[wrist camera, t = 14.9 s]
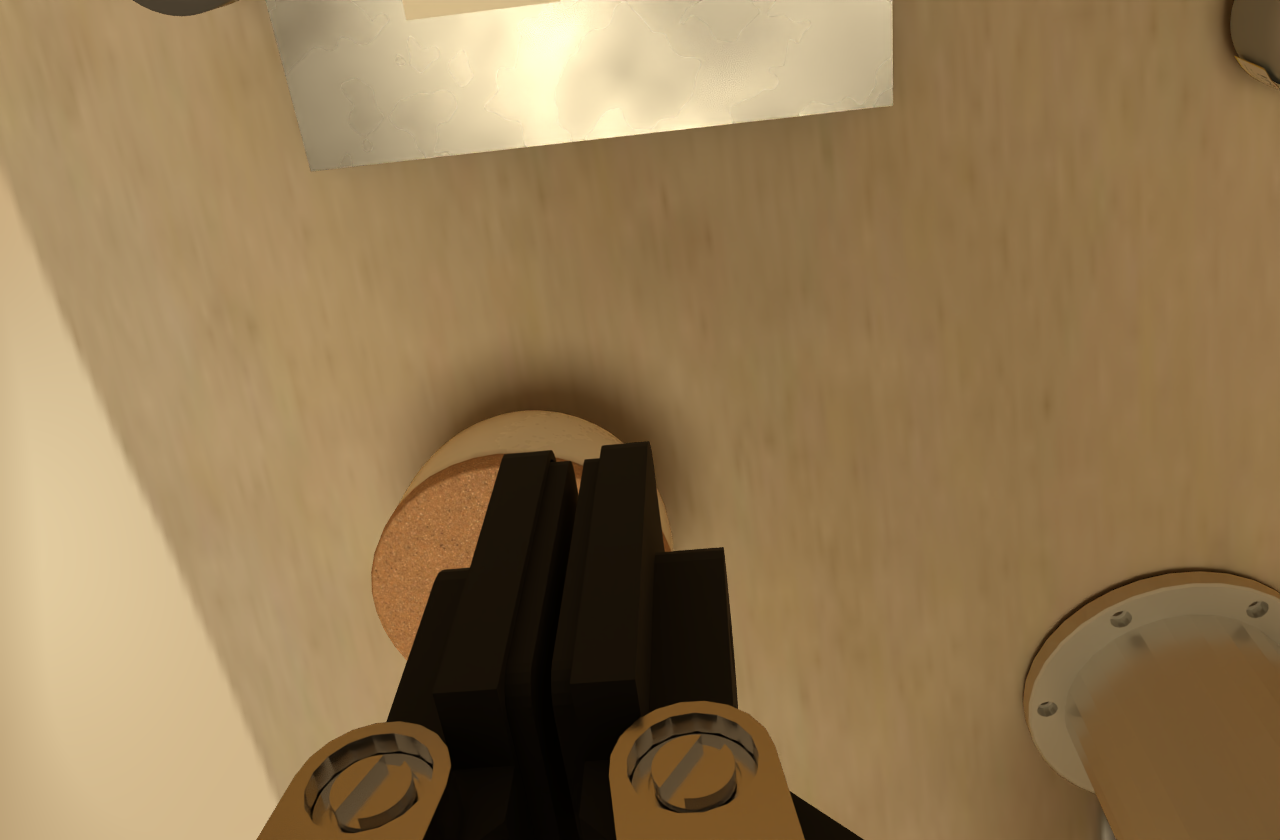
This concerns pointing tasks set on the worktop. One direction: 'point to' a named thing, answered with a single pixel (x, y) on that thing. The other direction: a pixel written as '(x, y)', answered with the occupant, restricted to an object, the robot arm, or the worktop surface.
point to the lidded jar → (465, 507)
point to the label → (459, 6)
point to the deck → (567, 71)
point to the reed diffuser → (1257, 38)
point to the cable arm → (183, 6)
